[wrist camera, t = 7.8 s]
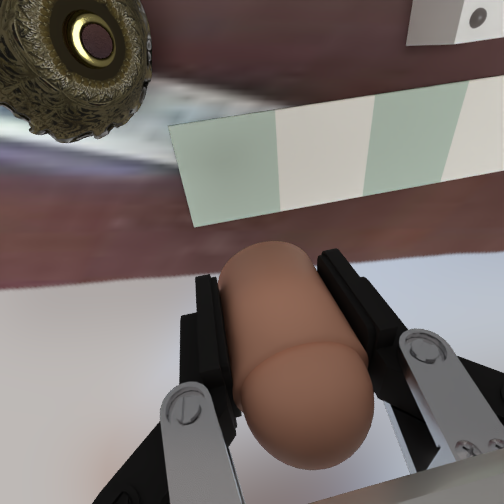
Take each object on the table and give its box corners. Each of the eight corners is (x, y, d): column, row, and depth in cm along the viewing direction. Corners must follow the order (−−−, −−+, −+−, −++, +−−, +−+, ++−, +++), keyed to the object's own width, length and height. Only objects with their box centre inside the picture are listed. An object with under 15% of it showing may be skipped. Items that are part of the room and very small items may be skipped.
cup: (-5, 39, 16) (-134, 30, 10) (64, -94, 14) (-43, -222, 7) (120, 136, 20) (88, 177, 13) (189, 43, 18) (190, 38, 11)
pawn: (314, 232, 11) (434, 398, 6) (311, 306, 13) (394, 473, 8) (210, 251, 11) (234, 448, 5) (225, 324, 13) (253, 512, 8)
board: (553, 67, 23) (557, 67, 22) (511, 167, 27) (514, 168, 27) (168, 125, 20) (168, 126, 20) (193, 225, 25) (194, 227, 24)
